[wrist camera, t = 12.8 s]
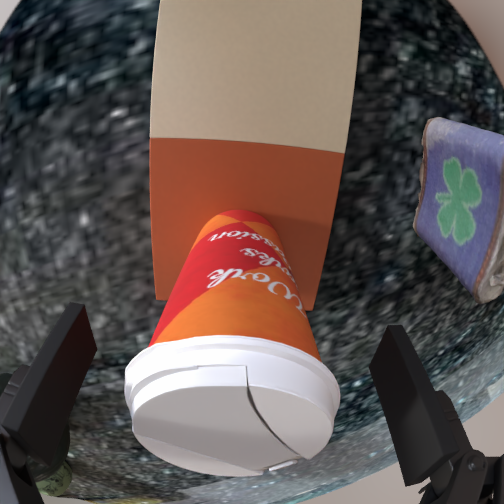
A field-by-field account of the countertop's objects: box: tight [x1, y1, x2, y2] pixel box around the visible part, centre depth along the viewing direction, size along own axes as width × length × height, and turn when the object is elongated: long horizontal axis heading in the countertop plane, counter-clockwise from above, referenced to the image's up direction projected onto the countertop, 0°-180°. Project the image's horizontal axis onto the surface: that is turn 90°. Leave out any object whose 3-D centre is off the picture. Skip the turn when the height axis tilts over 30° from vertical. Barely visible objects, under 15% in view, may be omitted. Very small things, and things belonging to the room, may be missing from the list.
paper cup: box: [124, 210, 340, 476], centre depth 15 cm, size 8×8×14 cm
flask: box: [413, 117, 504, 304], centre depth 15 cm, size 9×3×11 cm, turn 2°
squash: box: [0, 373, 70, 483], centre depth 27 cm, size 14×15×15 cm
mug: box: [36, 461, 72, 496], centre depth 39 cm, size 16×13×9 cm
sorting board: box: [150, 0, 362, 310], centre depth 18 cm, size 24×12×1 cm, turn 175°
